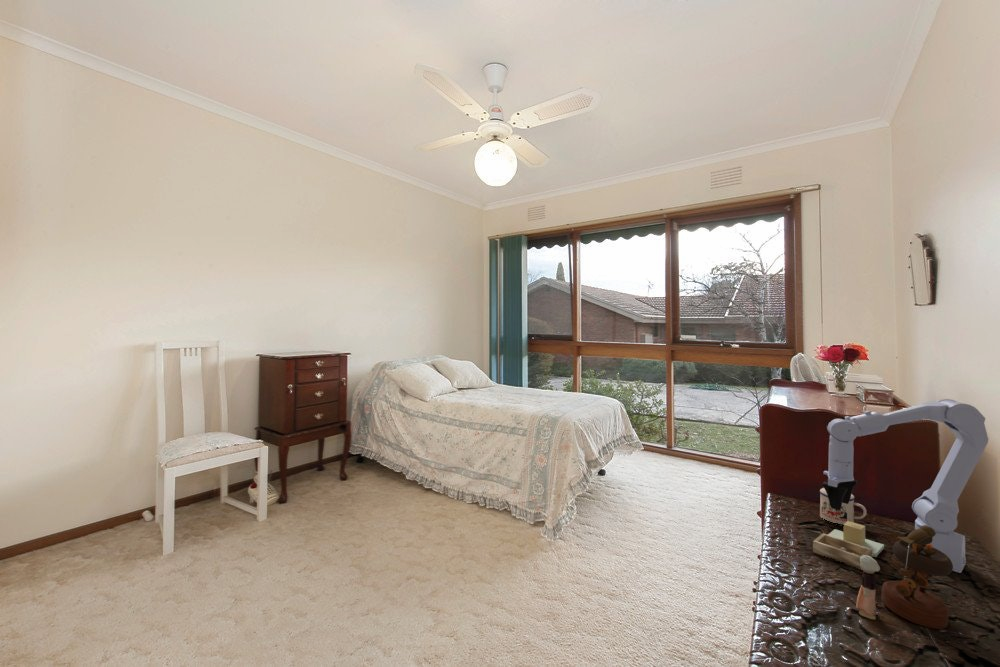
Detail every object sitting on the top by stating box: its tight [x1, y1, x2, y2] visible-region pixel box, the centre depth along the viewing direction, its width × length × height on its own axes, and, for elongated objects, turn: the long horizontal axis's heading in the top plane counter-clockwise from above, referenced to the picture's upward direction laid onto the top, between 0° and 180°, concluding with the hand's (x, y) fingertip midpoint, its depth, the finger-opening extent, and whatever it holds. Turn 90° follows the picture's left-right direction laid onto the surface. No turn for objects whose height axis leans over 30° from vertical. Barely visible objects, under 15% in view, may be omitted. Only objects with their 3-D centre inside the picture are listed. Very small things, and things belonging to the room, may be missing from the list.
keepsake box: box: [812, 532, 873, 571], centre depth 114 cm, size 11×8×3 cm
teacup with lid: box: [819, 487, 867, 525], centre depth 136 cm, size 12×9×12 cm
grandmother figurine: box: [855, 555, 881, 620], centre depth 91 cm, size 8×4×13 cm, turn 141°
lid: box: [827, 521, 885, 558], centre depth 121 cm, size 11×8×6 cm
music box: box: [880, 526, 953, 630], centre depth 92 cm, size 15×11×20 cm
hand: (839, 505), depth 123 cm, fingers open, 7 cm apart
